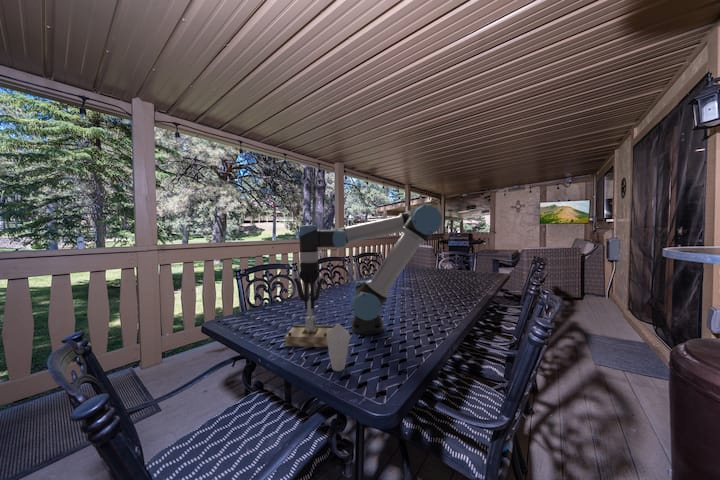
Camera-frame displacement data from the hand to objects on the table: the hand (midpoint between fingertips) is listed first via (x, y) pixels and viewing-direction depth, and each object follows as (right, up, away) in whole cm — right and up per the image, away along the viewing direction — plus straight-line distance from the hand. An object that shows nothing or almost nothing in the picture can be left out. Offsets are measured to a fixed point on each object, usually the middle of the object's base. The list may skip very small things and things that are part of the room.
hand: (310, 316), depth 116 cm
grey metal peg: (0, -11, +1) cm, 11 cm away
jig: (0, -11, +1) cm, 11 cm away
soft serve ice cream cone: (+14, -12, -22) cm, 29 cm away
